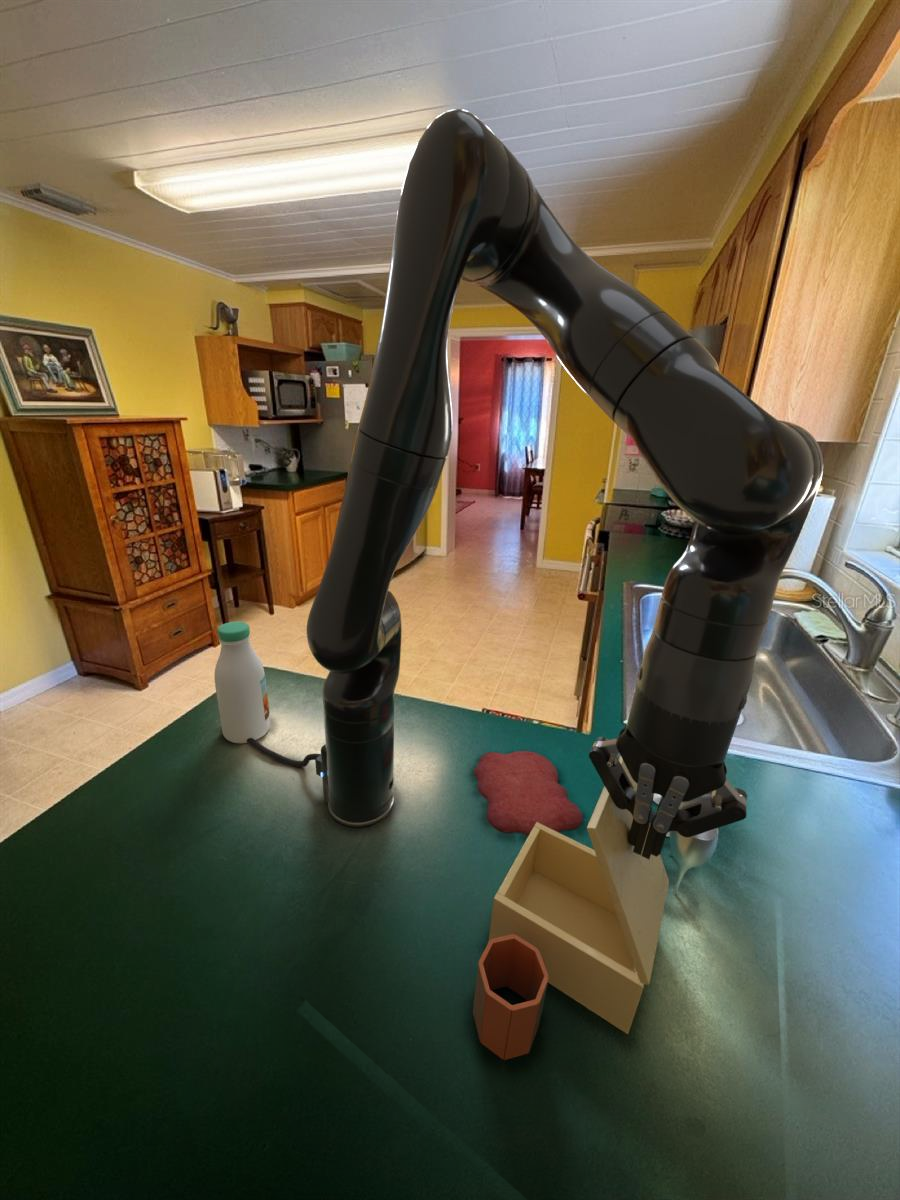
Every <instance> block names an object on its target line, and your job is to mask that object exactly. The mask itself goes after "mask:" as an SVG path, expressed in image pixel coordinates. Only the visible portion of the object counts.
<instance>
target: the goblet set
mask: <svg viewBox="0 0 900 1200" xmlns="http://www.w3.org/2000/svg"><path fill="white" fill-rule="evenodd" d="M712 792H713V791H712ZM712 792H710V793H707V794H705V795H703V796H700V797H698V798H696V799H693V800H691V801H688V802H681V804H680V806H679V808H678V809H681V808H682V807H685V806H687V805H690V804H693V803H695V802H698V801H701V800H703V799H706V798H709V797H711V794H712ZM661 797H662V796H661V795H659V794H656V793H654V797H653V802H654V803H655V804H656V805H657V806H658V805H659V802H660V800H661ZM666 837H667V838H669V844H670V849H669V852H668V856H669V857H673V855H674V857H675V859H676V861H677V864H678V871H677V877H676V881H675V884H674V888H673V891H672V895H674V896H677V893H678V890H679V887H680V884H681V882H682V879H683V877H684V876H685V874H686V872H688V870H689V869H691V868H695V867H699V866H702V865H704V864H706V863H707V862H708V861H710V860H711V858H712V857H713V855H714V854H715V852H716V849H717V846H718V841H719V828H716V829H713V830H710V831H707V832H704V833H701V834H698V835H695V836H692V837H683V836H681V835H680V834H679V833H678V832H677V831H670V832H668V833H667V834H666ZM666 837H665V838H666Z"/></svg>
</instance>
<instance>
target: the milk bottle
mask: <svg viewBox="0 0 900 1200" xmlns="http://www.w3.org/2000/svg"><path fill="white" fill-rule="evenodd" d="M217 636H218V642H219V644H221V647H220V652H219V655H218V658H217V660H216V664H215V668H214V686H215V687H214V688H215V694H216V701H217V707H218V713H219V720H220V726H221V730H222V731H221V732H222V735H223V737H224V738H225V739H226V740H227V741H228V742H231V743H234V744H247V743H248V742H247V739H248V738H253V739H254V740H256V741H257V740H259V739H261V738H263V737H264V736H265V735H266V734H267V733H268V732H269V730H270V728H271V715H270V704H269V697H268V689H267V681H266V674H265V669H264V665H263V662H262V660H261V657H259V655H258V653H256V651H255V650H254V648H253V646H252V644H251V641H250V639H251V629H250V625H249V623H247V622H245V621H229V622H226V623H223V624H221V625H220V626H219V627H217Z"/></svg>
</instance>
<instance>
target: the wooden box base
mask: <svg viewBox="0 0 900 1200" xmlns="http://www.w3.org/2000/svg"><path fill="white" fill-rule="evenodd" d="M491 911H492V912H491V919H490V925H489V933H488V934H489V936H488V942H487V944H488V943H489V941H490V940H491V939H494V938H498V937H503V936H507V935H512V934H514V935H517V936H519V937H520V938H522V939H523V940H525V941H527V942H528V943H530V944H531V945H533V946H535V947H536V948H537V949H538V950H539V952H540V955H541V957H542V960H543V963H544V965H545V968H546V970H547V973H548V975H549V980H548V984H550V985H551V986H553V987H555V988H556V989H557V990H559V991H561V992H562V993H563V994H565V995H566V996H568V997H570V998H571V999H573V1000H574V1001H575V1002H577V1003H579V1004H581V1005H582V1006H584V1007H585V1008H587V1009H588V1010H590V1011H591V1012H592V1013H594V1014H596V1015H597V1016H599V1017H600V1018H602V1019H604V1020H605V1021H607V1022H608V1023H610V1024H611V1025H613V1026H614V1027H616V1028H617V1029H619V1030H620V1031H622V1032H623V1033H625V1034H626V1035H629V1033H630V1030H631V1027H632V1024H633V1021H634V1019H635V1015H636V1013H637V1009H638V1006H639V1003H640V1000H641V997H642V994H643V991H644V988H645V984H643V983H640V980H639V977H638V974H637V971H636V969H635V966H634V963H633V960H632V957H631V954H630V951H629V948H628V946H627V943H626V940H625V937H624V934H623V931H622V928H621V925H620V922H619V920H618V917H617V914H616V911H615V908H614V905H613V902H612V899H611V896H610V894H609V891H608V888H607V885H606V882H605V879H604V876H603V873H602V871H601V868H600V865H599V862H598V859H597V856H596V853H595V850H594V848H591V847H589V846H587V845H585V844H583V843H581V842H579V841H577V840H575V839H573V838H571V837H569V836H566V835H564V834H562V833H560V832H556V831H554V830H552V829H550V828H548V827H546V826H544V825H542V824H540V823H538V822H536V824H535V826H534V827H533V829H532V831H531V833H530V835H529V836H528V835H527V838H526V840H525V842H524V843H523V845H522V847H521V849H520V851H519V852H518V854H517V856H516V858H515V859H514V861H513V863H512V865H511V866H510V869H509V871H508V872H507V874H506V876H505V878H504V879H503V881H502V884H501V885H500V886H499V888H498V890H497V892H496V894H495V896H494V897H493V903H492V910H491Z"/></svg>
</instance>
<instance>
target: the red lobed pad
mask: <svg viewBox="0 0 900 1200" xmlns="http://www.w3.org/2000/svg"><path fill="white" fill-rule="evenodd" d="M478 760H479V761H478V763H477V764H476V766H475V768H474V771H473V775H474V777H475V779H476V780H477V790H478V792H479V794H480V795H481V796H482V797H483V798H484V799H485V800H486V801H487V803H488V808H487V810H486V820H487V821H488V823H489V825H490V826H491V827H492V828H494V830H497V831H499V832H501V833H506V834H513V833H520V834H523V835H526V836H527V837H528V836H529V835H530V833H531V831H532V829H533V827H534V826H535V824H536V822H538V823H540V824H542V825H544V826H546V827H548V828H550V829H552V830H554V831H556V832H558V833H560V832H561V831H570V830H576V829H577V828H579V827H581V825H582V823H583V819H584V816H583V812H582V811H581V809H580V807H578V806H577V804H575V803H574V802H572V801H571V800H569V794H568V790H567V789H566V788H565V787H564V786H562V785H561V784H559V773H558V770H557V768H556V766H555V765H554V763H552V761H551V760H549V759H548V758H547V757H545V756H543V755H541V754H540V753H537V752H534V751H530V750H518V751H513V752H510V753H502V752H499V751H489V752H486V753H484V754H483V755H481V756H480V758H479V759H478Z"/></svg>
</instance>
